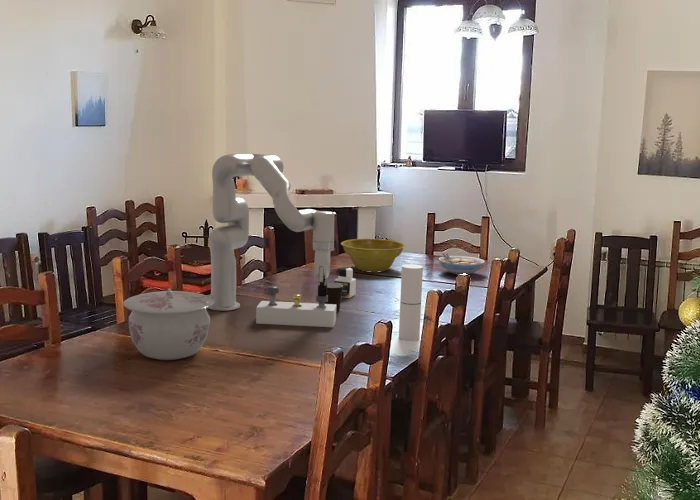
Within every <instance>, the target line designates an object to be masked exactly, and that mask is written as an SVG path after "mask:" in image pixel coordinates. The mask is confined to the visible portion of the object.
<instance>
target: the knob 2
mask: <svg viewBox="0 0 700 500" xmlns="http://www.w3.org/2000/svg"><path fill="white" fill-rule="evenodd" d="M315 302H317V303H318V304H319V308H325V302H328V295H327V296H318V294H315Z"/></svg>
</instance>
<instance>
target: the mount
mask: <svg viewBox="0 0 700 500" xmlns="http://www.w3.org/2000/svg"><path fill="white" fill-rule="evenodd" d="M255 313H256V315H255V319H256V320H255V324H260V325H261V324H262V325H278V326H280V325H283V326H298V327H303V326H304V327H319V328H320V327H321V328H323V327H324V328H334V327H335V324H336V321H337V312H336V304H325V308H319V303H315V302H314V303H312V302H300V307H294V301H292V302H291V301H290V302H289V301H276V306H270V300H261V301H260V302H259V303H258V305H257V306H256V309H255Z"/></svg>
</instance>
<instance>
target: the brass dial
mask: <svg viewBox="0 0 700 500" xmlns="http://www.w3.org/2000/svg"><path fill="white" fill-rule="evenodd" d="M292 298H293V299H294V301H293V302H294V307H300V303H301V299H302V294H299V293H294V294H293V295H292Z"/></svg>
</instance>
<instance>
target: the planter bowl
mask: <svg viewBox="0 0 700 500" xmlns="http://www.w3.org/2000/svg"><path fill="white" fill-rule="evenodd" d="M340 245H341V246H342V247H343V250H344V252H345V254H347V255H348V256H349V257H350V260H351V262H352V264H353V265H354V267H355V268H356V269H358V271H360V270H363V271H362V272H364V271H371V272H370V273H379V272H378V271H383V272H386V271H387V270H388V269H390V268H391V267H392V265H394V261H395V259H396V258H398V257H399V256H400V255H401V254H402V252H403V249H404V248H406V244H405V243H403V242H402V241H401V242H400V241H396V240H391V239H384V238H383V239H382V238H381V239H380V238H353V239H347V240H344V241H341V242H340ZM385 270H386V271H385Z"/></svg>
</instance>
